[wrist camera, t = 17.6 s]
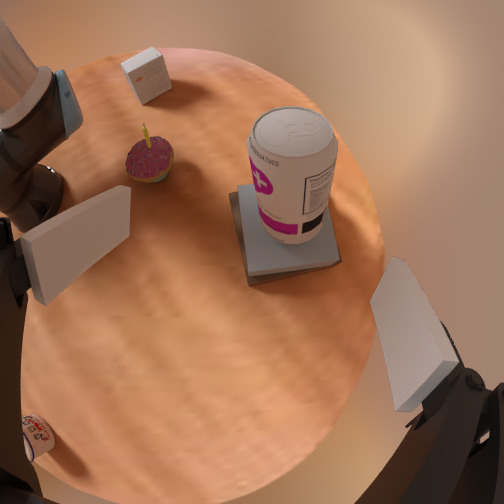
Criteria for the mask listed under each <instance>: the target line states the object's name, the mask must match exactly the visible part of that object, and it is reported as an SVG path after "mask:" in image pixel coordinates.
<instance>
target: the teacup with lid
mask: <svg viewBox="0 0 504 504" xmlns="http://www.w3.org/2000/svg"><path fill="white" fill-rule="evenodd" d="M22 427H23V436H24V444H25V450H26V454H27V457H28V459H29V461H30V462H32V461H33V460H34V459H35V458H37V457H39V456H41V455H42V454H44V453H46V452H48V451H49V450H51V449H53V448H54V446H55V438H54V435H53V433H52V430H51V429H50V427H49V426H48V424H47V423H46V422H45V421H44V420H43V419H42V418H41V417H40V416H38V415H36V414H30V415H28V416H25V417H22Z"/></svg>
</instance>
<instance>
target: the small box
mask: <svg viewBox="0 0 504 504" xmlns="http://www.w3.org/2000/svg"><path fill="white" fill-rule="evenodd" d="M120 65H121V67H122V69H123V71H124V74H125V76H126V78H127V80H128V82H129V84H130V87H131V89H132V91H133V93H134V95H135V96H136V98H137V99H138V100H139V102H140V103H141V104H142V105H143V104H145V103H147V102H148V101H150V100H152V99H154V98H155V97H157V96H159V95H161V94H162V93H164V92H166V91H168V90H170V89H171V88H172V84H171V81H170V78H169V75H168V71H167V68H166V65H165V61H164V58H163V55H162V54H161V53H159V52H158V51H157V50H156V49H155V48H154V47H151V48H149V49H147V50H145V51H143V52H141V53H139V54H137V55H135V56H134V57H132V58H130V59H128V60H126V61H125V62H123V63H121V64H120Z"/></svg>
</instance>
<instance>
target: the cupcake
mask: <svg viewBox="0 0 504 504" xmlns="http://www.w3.org/2000/svg"><path fill="white" fill-rule="evenodd" d="M142 129H143V133H144V136H145V139H143V140H142V141H140V142H138V143H137V144H135V146H133V147H132V149H131V151H130V152H129V153H128V157H127V159H126V163H125V164H126V167H127V170H128V174H129V176H130V177H131V178H132V179H133V180H136V181H139V182H146V183H150V182H159V181H161V180H163V179H164V178H165V177H166V176H167V174H168V172H169V170H170V168H171V165H172V162H173V158H174V152H173V149H172V147H171V145H170V144H169V142H168V141H166V140H165V139H163V138H160V137H159V136H157V137H150V138H149V135H148V131H147V128H146V126H145V125H144V123H143V127H142Z"/></svg>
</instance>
